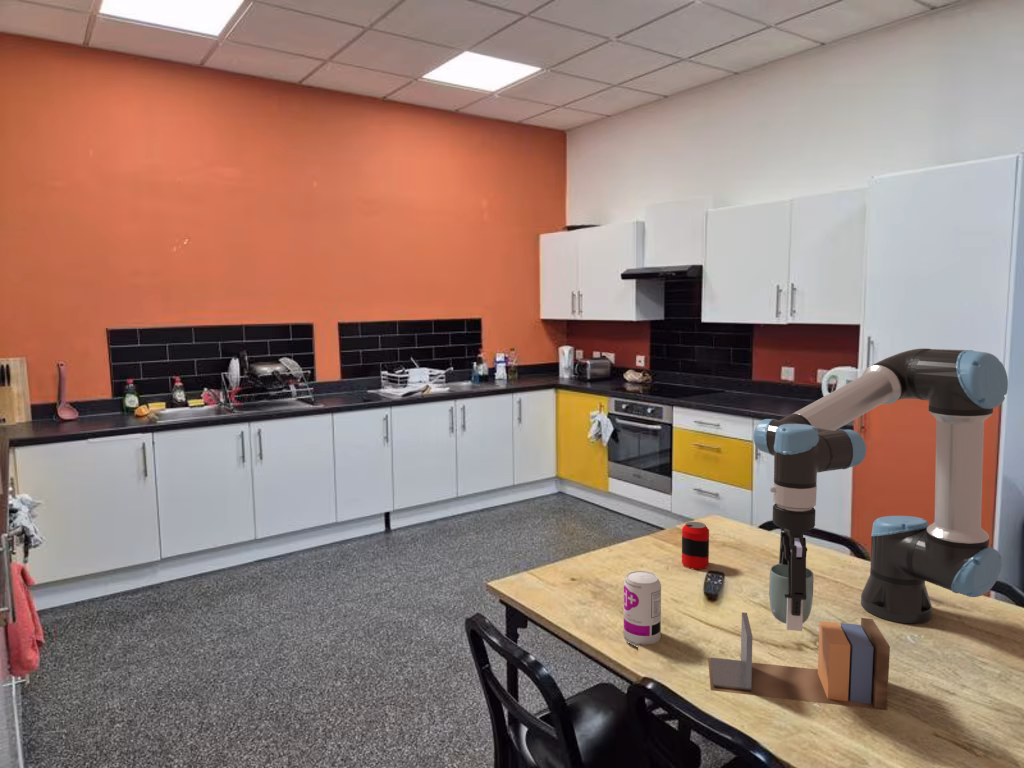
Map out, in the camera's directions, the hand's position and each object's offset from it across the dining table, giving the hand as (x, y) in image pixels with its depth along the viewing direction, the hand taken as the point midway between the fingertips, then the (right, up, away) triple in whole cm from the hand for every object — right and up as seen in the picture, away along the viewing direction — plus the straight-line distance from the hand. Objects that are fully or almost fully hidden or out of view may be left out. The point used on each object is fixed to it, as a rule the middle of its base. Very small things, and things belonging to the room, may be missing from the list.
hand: (790, 618), depth 129 cm
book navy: (+12, -13, -1) cm, 18 cm away
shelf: (+1, -14, +1) cm, 14 cm away
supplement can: (-25, -13, +21) cm, 35 cm away
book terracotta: (+8, -13, 0) cm, 15 cm away
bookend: (-10, -13, +4) cm, 17 cm away
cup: (0, 0, 0) cm, 1 cm away
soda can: (-1, -7, +64) cm, 65 cm away
